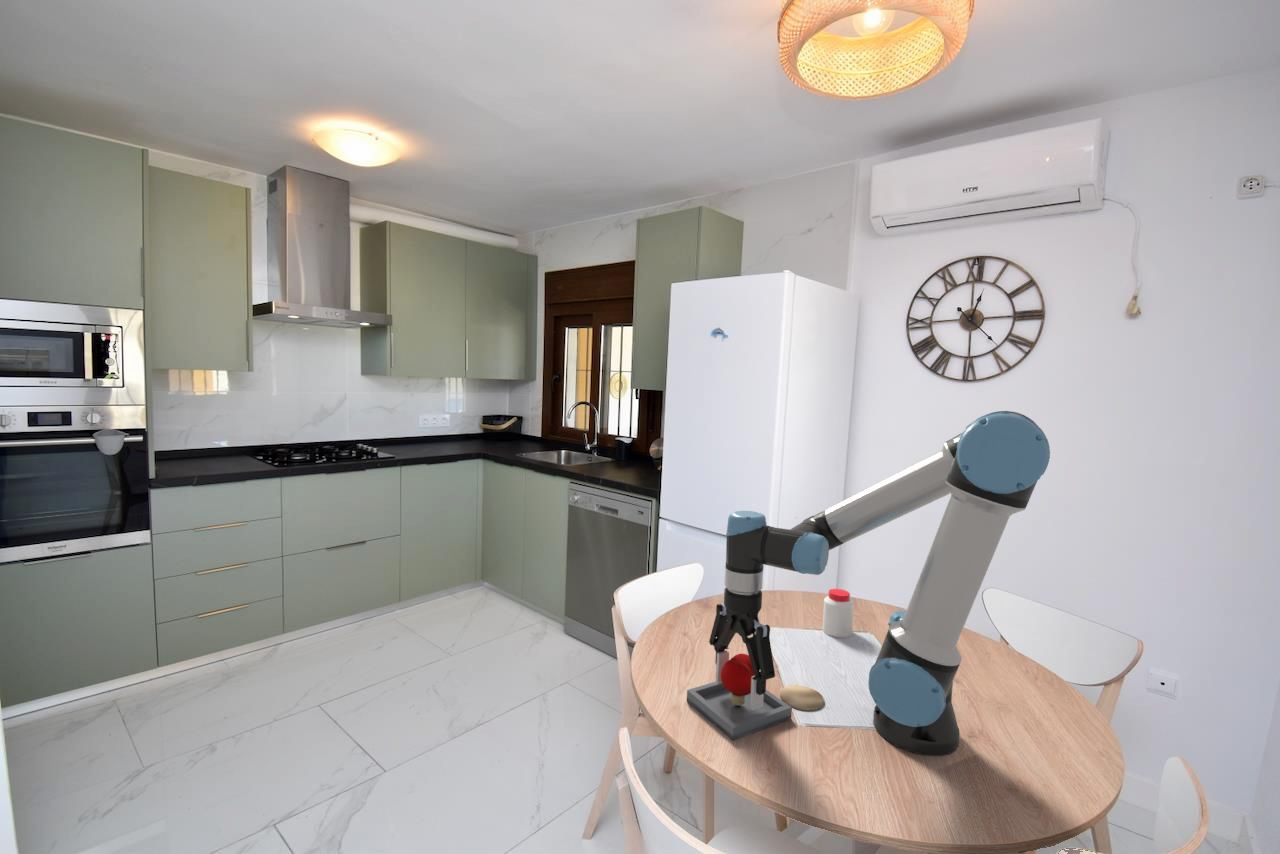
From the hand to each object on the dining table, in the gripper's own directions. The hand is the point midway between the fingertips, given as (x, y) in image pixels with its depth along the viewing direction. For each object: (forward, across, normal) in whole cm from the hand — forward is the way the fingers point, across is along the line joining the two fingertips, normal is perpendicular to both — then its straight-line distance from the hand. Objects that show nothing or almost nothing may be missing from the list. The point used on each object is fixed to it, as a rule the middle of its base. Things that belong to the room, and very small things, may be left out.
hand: (738, 694), depth 119 cm
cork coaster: (+3, -3, -15) cm, 16 cm away
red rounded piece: (+3, 0, 0) cm, 3 cm away
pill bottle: (+4, +17, -49) cm, 52 cm away
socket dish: (+3, 0, 0) cm, 3 cm away
